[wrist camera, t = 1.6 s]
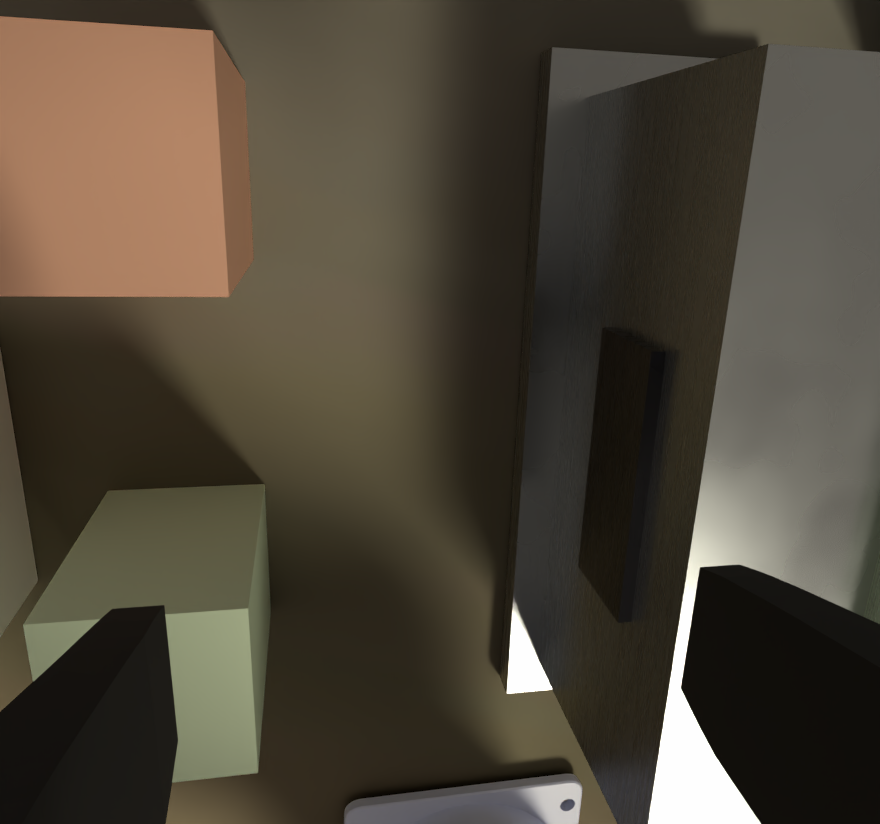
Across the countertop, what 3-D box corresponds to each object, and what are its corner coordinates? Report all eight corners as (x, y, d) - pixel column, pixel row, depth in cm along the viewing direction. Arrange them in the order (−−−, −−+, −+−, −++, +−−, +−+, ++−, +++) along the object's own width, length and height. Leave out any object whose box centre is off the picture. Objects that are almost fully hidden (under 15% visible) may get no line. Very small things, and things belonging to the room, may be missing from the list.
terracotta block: (253, 259, 18) (229, 296, 12) (79, 257, 17) (-35, 295, 11) (245, 82, 16) (213, 30, 11) (56, 71, 16) (-84, 10, 10)
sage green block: (270, 610, 21) (258, 772, 15) (124, 621, 20) (52, 795, 14) (264, 483, 19) (248, 608, 14) (107, 490, 19) (23, 624, 13)
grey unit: (673, 660, 24) (859, 902, 16) (499, 677, 23) (605, 945, 15) (765, 67, 18) (1120, -19, 10) (541, 52, 17) (745, -57, 9)
